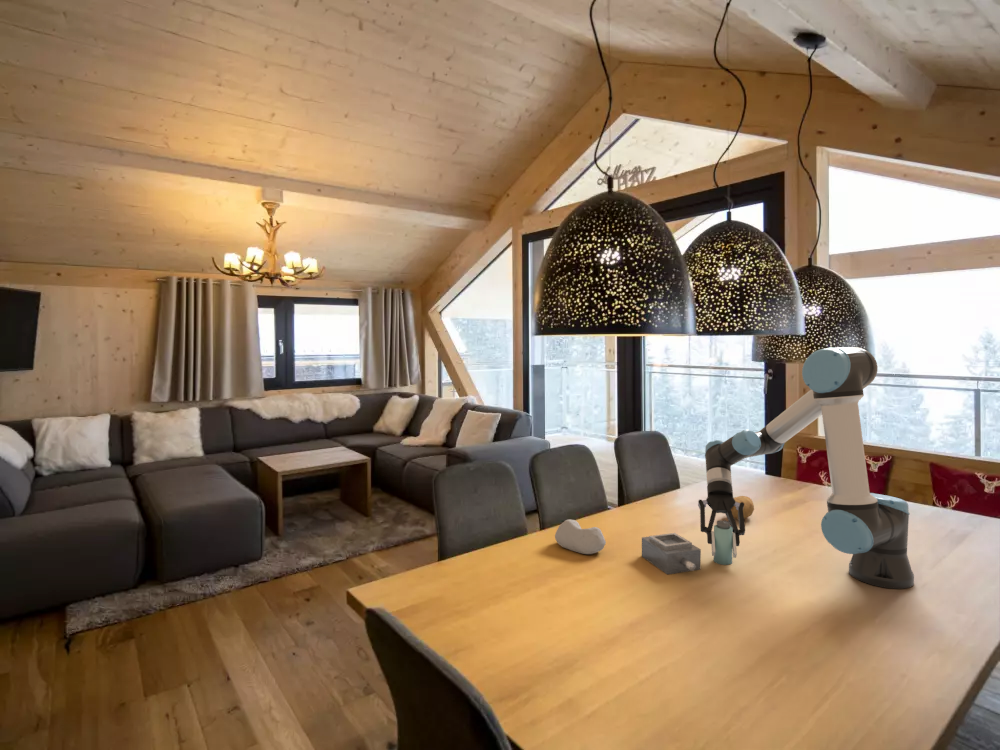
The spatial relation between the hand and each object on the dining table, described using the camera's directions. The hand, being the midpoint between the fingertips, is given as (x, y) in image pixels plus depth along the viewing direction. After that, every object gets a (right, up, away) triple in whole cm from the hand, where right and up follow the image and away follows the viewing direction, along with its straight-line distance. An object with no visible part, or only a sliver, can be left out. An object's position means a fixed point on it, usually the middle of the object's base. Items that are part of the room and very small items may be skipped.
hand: (724, 554), depth 168 cm
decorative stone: (-40, -3, +16) cm, 43 cm away
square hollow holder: (-15, -3, +3) cm, 16 cm away
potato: (+23, 0, +43) cm, 49 cm away
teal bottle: (+1, -3, +4) cm, 5 cm away
